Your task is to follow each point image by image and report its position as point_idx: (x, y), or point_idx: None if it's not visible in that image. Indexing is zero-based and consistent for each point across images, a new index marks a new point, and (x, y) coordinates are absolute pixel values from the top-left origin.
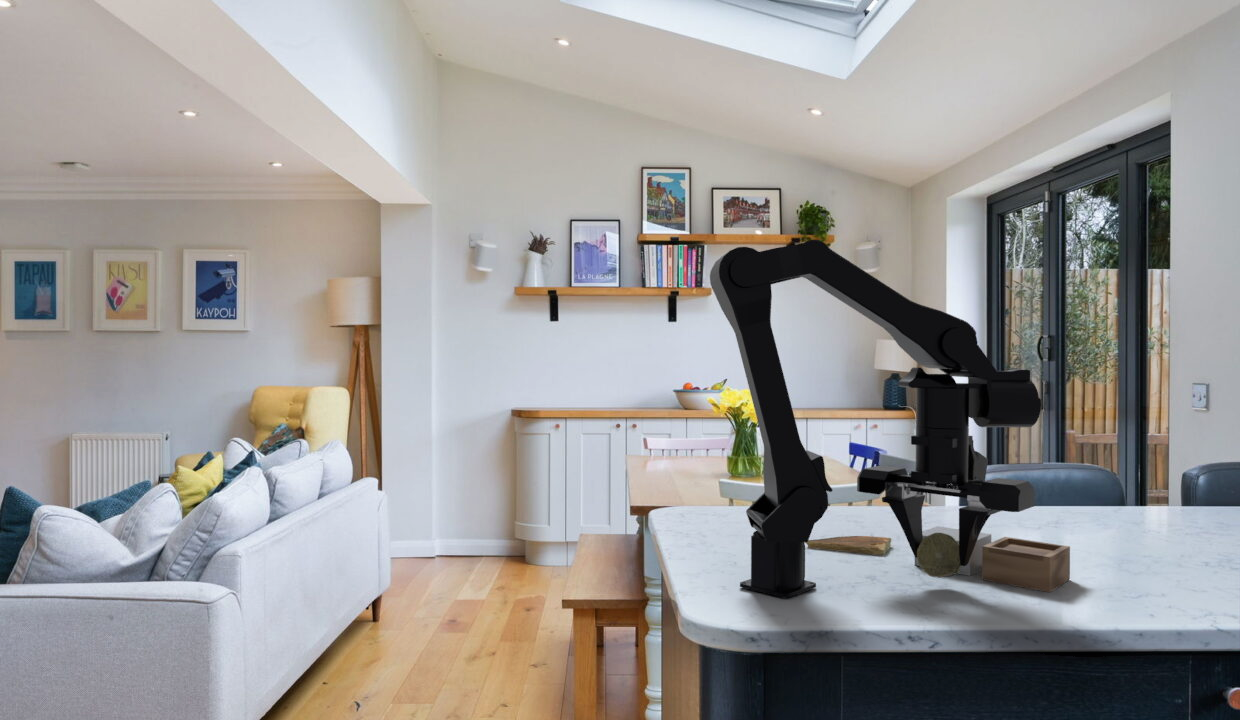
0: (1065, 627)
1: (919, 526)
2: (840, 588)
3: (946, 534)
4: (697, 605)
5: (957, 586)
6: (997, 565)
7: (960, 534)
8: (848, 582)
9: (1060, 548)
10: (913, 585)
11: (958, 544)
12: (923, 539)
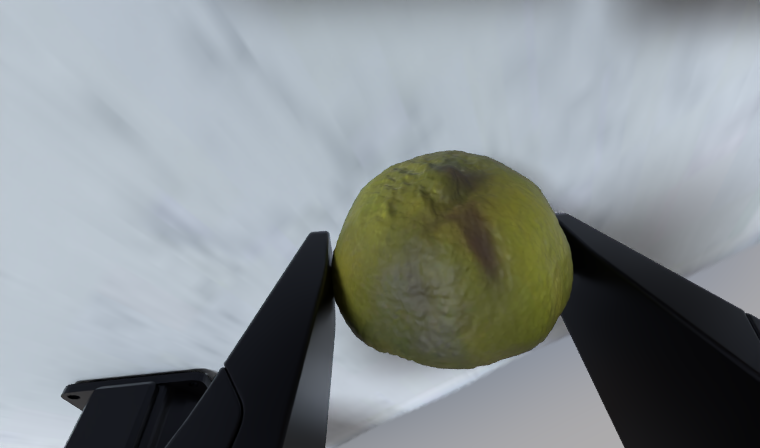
0: (739, 247)
1: (308, 402)
2: (230, 341)
3: (516, 354)
4: None
5: (464, 107)
6: None
7: (625, 431)
8: (192, 304)
9: None
10: (333, 211)
11: (568, 296)
12: (362, 339)
